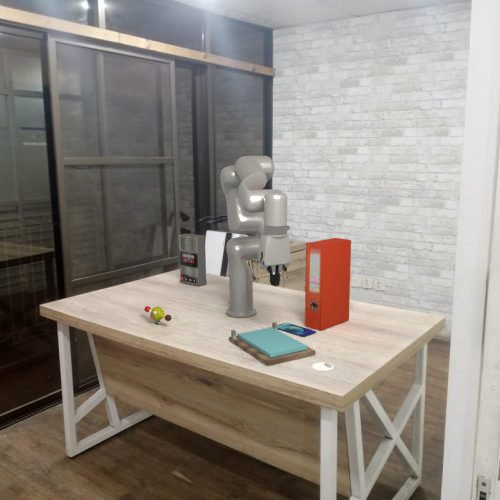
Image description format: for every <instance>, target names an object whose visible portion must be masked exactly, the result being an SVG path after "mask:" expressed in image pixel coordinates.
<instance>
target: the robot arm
mask: <svg viewBox="0 0 500 500" xmlns="http://www.w3.org/2000/svg"><path fill="white" fill-rule="evenodd" d="M274 173H275V164H274V161H273V159H272V158H271V157H270V156H268V155H244V156H241V157H239V158H238V159H237V160H236V161H235V165H229V166H225V167H224V168H222V169H221V171H220V174H219V175H220V177H219V178H220V179H219V180H220V185H221V189H222V192H223V194H224V197H225V202H226V212H227V225H228V229H229V232H230V233H232V234H234V235H236V234H241V235H242V234H254V235H255V236H253V235H252V236H239V237H238V236H237V237H236V236H235V237H232V238H230V239H229V240H228V241H227V243H226V254H227V255H226V256H227V262H228V276H229V277H228V279H229V280H228V281H229V283H228V284H229V287H228V288H229V300H228V304H229V308H227V309H226V310H225V312H226V316H229V317H233V318H249V317H253V316H255V315H257V312H258V310H257V308H255V307H254V288H253V286H254V284H253V283H254V281H253V280H254V279H253V278H254V275H253V273H254V272H253V269H252V268H251V266H250V265H249V264H248V263H247V261H256V260H258V263H259V264H260V266H259V269H260V270H264V271H267V272H268V273H269V283H270V285H271V286H274V287H279V286H280V282H281V274H282V273H283V270H284V269H285V268H288V267H289V266H291V263H290V262H291V256H292V255H291V253H292V252H291V251H292V250H291V241H290V236H289V233H288V231H289V230H290V229H291V226H290V225H288V195H287V193H285V192H282V191H281V190H280V189H276V188H275V189H264V188H265V186H266V185H267V183H268V181H270V180H271V179H272V178H273V176H274Z"/></svg>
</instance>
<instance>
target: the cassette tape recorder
mask: <svg viewBox="0 0 500 500" xmlns="http://www.w3.org/2000/svg"><path fill="white" fill-rule="evenodd" d="M178 244H179V245H178V247H179V273H180V274H179V276H180V279H179V283H181V284H187V285H191V286H196V287H201V286H204V285H205V286H206V285H207V284H208V282H207V266H206V265H207V264H206V262H207V260H206V257H207V256H206V254H207V253H206V235H204V234H202V235H201V234H195V233H181V234H178Z"/></svg>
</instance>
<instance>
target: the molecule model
mask: <svg viewBox="0 0 500 500" xmlns="http://www.w3.org/2000/svg"><path fill="white" fill-rule="evenodd" d="M144 312H145V313H150V316H149V317H150V318H151V319H152V320H154V321H155V322H154V324H155V325H157V326H158V325H161V320H162V319H163V318H164V320H165V321H166V322H170V321H171V320H172V315H170V314H166V315H165V310H164V309H163V308H162V307H160V306H154V307H150V306H148V305H147V306H145V307H144Z"/></svg>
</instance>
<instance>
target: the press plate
mask: <svg viewBox="0 0 500 500" xmlns="http://www.w3.org/2000/svg"><path fill="white" fill-rule="evenodd" d="M236 336H237V337H238V338H239V339H241V340H243V341H244V342H246V343H247V344H249V345H251V346H252V347H254V348H255V349H257V350H259V351H260V352H262V353H263V354H265V355H267V356H268V357H270V358H271V357H275V356H280V355H284V354H289V353H293V352H298V351H302V350H307V347H308V345H307V344H305V343H303V342H301V341H299V340H297V339H295V338H293V337H292V336H289V335H287V334H285V332H284V333H283V331H281V330H278V329H277V330H276V329H274V328H272V326H268V327H262V328H258V329H253V330H248V331H243V332H238V333H236Z"/></svg>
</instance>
